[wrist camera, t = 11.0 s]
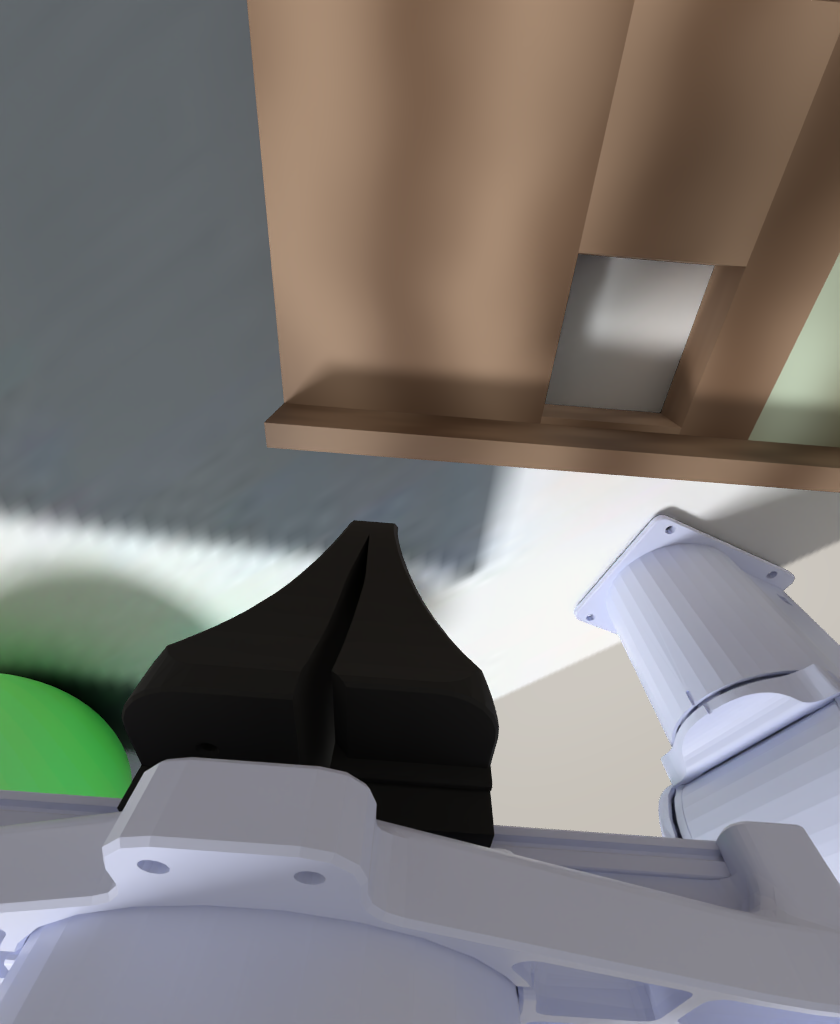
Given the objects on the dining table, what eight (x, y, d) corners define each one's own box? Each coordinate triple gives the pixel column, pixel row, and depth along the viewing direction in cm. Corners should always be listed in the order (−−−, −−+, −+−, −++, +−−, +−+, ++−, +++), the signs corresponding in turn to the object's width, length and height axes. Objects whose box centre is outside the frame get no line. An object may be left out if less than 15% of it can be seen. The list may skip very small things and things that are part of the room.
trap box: (1428, -369, 10) (2164, -831, 6) (875, 457, 21) (990, 509, 17) (230, -485, 10) (72, -1059, 6) (298, 411, 21) (262, 452, 16)
